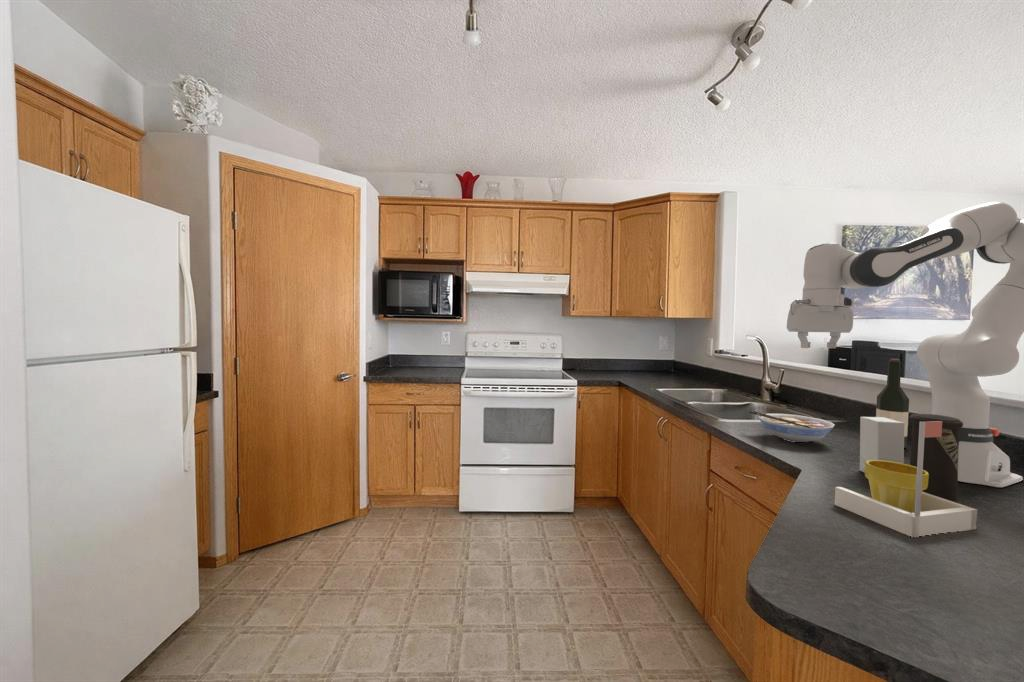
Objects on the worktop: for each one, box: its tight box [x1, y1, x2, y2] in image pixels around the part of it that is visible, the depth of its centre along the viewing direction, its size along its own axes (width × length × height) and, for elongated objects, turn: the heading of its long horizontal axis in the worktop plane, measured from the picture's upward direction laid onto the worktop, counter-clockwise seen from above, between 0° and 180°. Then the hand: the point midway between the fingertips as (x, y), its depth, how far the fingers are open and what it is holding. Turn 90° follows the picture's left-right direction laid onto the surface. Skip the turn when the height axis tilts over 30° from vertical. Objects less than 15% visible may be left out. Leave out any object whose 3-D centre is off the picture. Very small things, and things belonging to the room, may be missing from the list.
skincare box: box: [859, 416, 905, 474], centre depth 118 cm, size 8×7×16 cm
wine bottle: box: [875, 358, 910, 448], centre depth 149 cm, size 8×8×30 cm
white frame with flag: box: [834, 421, 978, 538], centre depth 92 cm, size 17×16×22 cm
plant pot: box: [864, 460, 929, 513], centre depth 95 cm, size 10×10×10 cm
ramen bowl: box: [748, 410, 836, 443], centre depth 154 cm, size 25×23×8 cm
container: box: [908, 413, 963, 503], centre depth 102 cm, size 9×9×20 cm
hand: (818, 348), depth 125 cm, fingers open, 8 cm apart
